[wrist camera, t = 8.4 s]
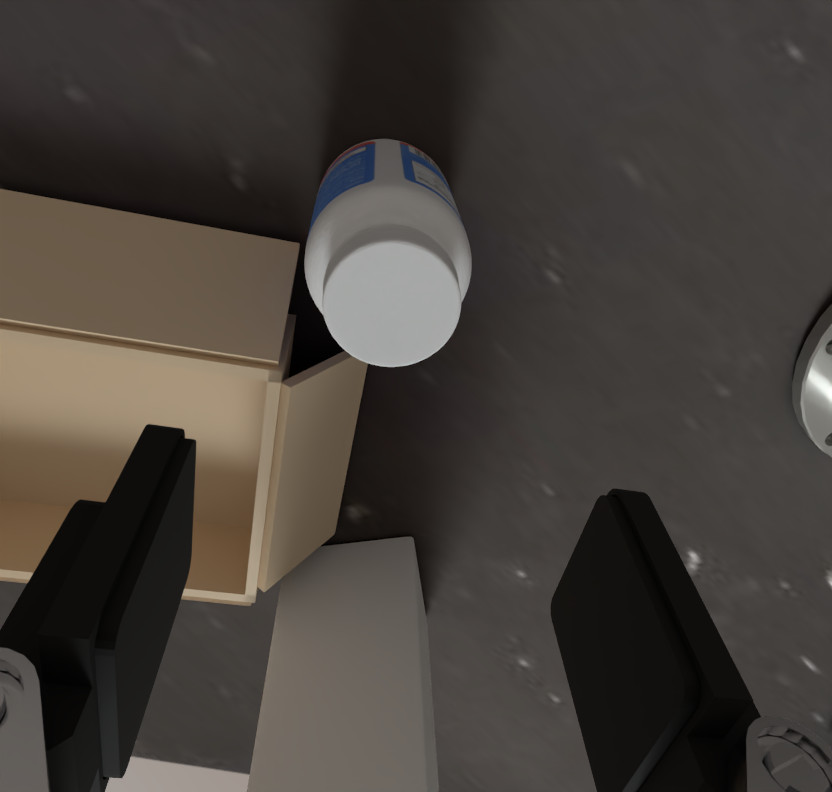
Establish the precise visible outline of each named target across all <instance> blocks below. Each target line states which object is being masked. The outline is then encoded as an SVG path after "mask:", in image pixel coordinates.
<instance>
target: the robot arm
mask: <svg viewBox="0 0 832 792" xmlns="http://www.w3.org/2000/svg"><path fill="white" fill-rule="evenodd" d="M792 399H793V406H794V410H795V413H796V416H797V420H798V422H799V423H800V425H801V426H802V428H803V430H804V431H805V433H806V434H807V436H808V437H809V438H810V439H811V440H812V441H813V442H814V443H815V444H816V445H817V446H818V447H819V448H820V449H821V450H822V451H823V452H825V453H826V454H828V455H829V456H831V457H832V304H831V305H830V306H829V307H828V308H827V310H826V311H825V312H824V313H823V314H822V315H821V317H820V318H819V320H818V321H817V323H816V324H815V326H814V328H813V329H812V331H811V332H810V334H809V336H808V337H807V339H806V341H805V343H804V345H803V348H802V350H801V353H800V355H799V357H798V360H797V362H796V367H795V372H794V377H793V382H792ZM195 466H196V440H195V439H188V438H185V432H184V429H181V428H174V427H166V426H159V425H152V424H148V425H146V426H145V428H144V430H143V431H142V433H141V435H140V437H139V439H138V441H137V443H136V445H135V447H134V449H133V451H132V453H131V455H130V456H129V458H128V460H127V462H126V464H125V466H124V468H123V470H122V472H121V474H120V476H119V478H118V479H117V481H116V483H115V485H114V487H113V489H112V491H111V493H110V495H109V497H108V499H107V501H106V502H98V501H90V500H82V499H80V500H78V501H77V502H76V503H75V504H74V505H73V507H72V508H71V509H70V511H69V513H68V514H67V516H66V518H65V520H64V521H63V523H62V525H61V526H60V528H59V530H58V532H57V533H56V535H55V537H54V538H53V540H52V542H51V544H50V545H49V547H48V549H47V551H46V552H45V554H44V556H43V557H42V559H41V561H40V563H39V564H38V566H37V568H36V570H35V571H34V573H33V575H32V576H31V578H30V580H29V582H28V583H27V585H26V587H25V589H24V590H23V592H22V594H21V595H20V597H19V599H18V601H17V602H16V604H15V606H14V608H13V609H12V611H11V613H10V614H9V616H8V618H7V620H6V621H5V623H4V625H3V626H2V628H1V630H0V792H105V789H106V786H107V783H108V780H109V777H112V778H122V777H123V776H124V774H125V771H126V769H127V766H128V763H129V760H130V757H131V754H132V751H133V747H134V744H135V741H136V738H137V735H138V732H139V729H140V726H141V722H142V719H143V716H144V713H145V710H146V707H147V704H148V701H149V697H150V694H151V691H152V688H153V685H154V682H155V679H156V676H157V672H158V669H159V666H160V663H161V660H162V657H163V654H164V651H165V647H166V644H167V641H168V638H169V635H170V632H171V629H172V626H173V622H174V619H175V616H176V613H177V610H178V607H179V604H180V601H181V597H182V594H183V591H184V588H185V585H186V582H187V578H188V575H189V570H190V565H191V557H192V535H193V512H194V489H195ZM551 618H552V622H553V626H554V630H555V634H556V637H557V641H558V645H559V649H560V652H561V656H562V660H563V664H564V668H565V671H566V675H567V679H568V683H569V687H570V690H571V694H572V698H573V702H574V706H575V709H576V713H577V717H578V721H579V725H580V728H581V732H582V736H583V740H584V744H585V747H586V751H587V755H588V759H589V763H590V766H591V770H592V774H593V778H594V782H595V785H596V789H597V792H832V749H831V748H830V747H829V746H828V745H827V744H826V743H825V742H824V741H823V740H821V739H820V738H819V737H818V736H817V735H815V734H814V733H813V732H812V731H810V730H808V729H807V728H805V727H803V726H802V725H800V724H798V723H796V722H794V721H791V720H788V719H785V718H782V717H778V716H764V717H761V716H760V714H759V712H758V710H757V708H756V707H755V705H754V703H753V699H752V697H751V695H750V693H749V691H748V689H747V687H746V685H745V683H744V681H743V679H742V677H741V675H740V673H739V672H738V670H737V668H736V666H735V664H734V662H733V660H732V658H731V656H730V654H729V652H728V650H727V648H726V646H725V644H724V642H723V640H722V638H721V636H720V634H719V632H718V630H717V628H716V627H715V625H714V623H713V621H712V619H711V617H710V615H709V613H708V611H707V609H706V607H705V605H704V603H703V601H702V599H701V597H700V595H699V593H698V591H697V589H696V587H695V585H694V583H693V582H692V580H691V578H690V576H689V574H688V572H687V570H686V568H685V566H684V564H683V562H682V560H681V558H680V556H679V554H678V552H677V550H676V548H675V546H674V544H673V542H672V540H671V538H670V536H669V535H668V533H667V531H666V529H665V527H664V525H663V523H662V521H661V519H660V517H659V515H658V513H657V511H656V509H655V507H654V505H653V503H652V501H651V499H650V498H649V496H648V495H647V494H645V493H643V492H636V491H629V490H622V489H612V490H611V491H609V493H608V494H607V496H605V495H602V496H600V497H599V498H598V499H597V501H596V503H595V505H594V508H593V510H592V512H591V514H590V516H589V519H588V521H587V523H586V525H585V527H584V530H583V532H582V534H581V536H580V538H579V541H578V543H577V545H576V547H575V549H574V552H573V554H572V556H571V558H570V560H569V562H568V565H567V567H566V569H565V571H564V573H563V576H562V578H561V580H560V582H559V584H558V587H557V589H556V591H555V593H554V595H553V598H552V602H551Z"/></svg>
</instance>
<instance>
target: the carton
mask: <svg viewBox="0 0 832 792" xmlns="http://www.w3.org/2000/svg"><path fill="white" fill-rule="evenodd" d="M299 247H300V243H295V242H290V241H284V240H279V239H273V238H268V237H262V236H257V235H251V234H246V233H240V232H235V231H229V230H224V229H218V228H213V227H207V226H202V225H196V224H191V223H185V222H180V221H174V220H169V219H163V218H158V217H152V216H147V215H141V214H136V213H130V212H125V211H119V210H114V209H108V208H103V207H97V206H92V205H86V204H81V203H75V202H70V201H64V200H59V199H53V198H48V197H43V196H37V195H32V194H26V193H21V192H15V191H10V190H4V189H0V581H10V582H20V583H28V582H29V580H30V578H31V576H32V575H33V573H34V571H35V570H36V568H37V566H38V564H39V563H40V561H41V559H42V557H43V556H44V554H45V552H46V551H47V549H48V547H49V545H50V544H51V542H52V540H53V538H54V537H55V535H56V533H57V532H58V530H59V528H60V526H61V525H62V523H63V521H64V520H65V518H66V516H67V514H68V513H69V511H70V509H71V508H72V507H73V505H74V504H75V503H76V502H77V501H78V500H80V499H82V500H90V501H98V502H106V501H107V499H108V497H109V495H110V493H111V491H112V489H113V487H114V485H115V483H116V481H117V479H118V478H119V476H120V474H121V472H122V470H123V468H124V466H125V464H126V462H127V460H128V458H129V456H130V455H131V453H132V451H133V449H134V447H135V445H136V443H137V441H138V439H139V437H140V435H141V433H142V431H143V430H144V428H145V426H146V425H148V424H152V425H159V426H166V427H174V428H181V429H184V432H185V438H188V439H195V440H196V466H195V489H194V512H193V535H192V557H191V565H190V570H189V575H188V578H187V582H186V585H185V588H184V591H183V594H182V597H181V599H186V600H195V601H205V602H215V603H225V604H234V605H244V606H251V603H255V600H256V595H257V590H258V588H259V589H261V590H262V591H263V592H265V591H267V590H268V589H269V588H270V587H271V586H273V585H274V584H275V583H276V582H277V581H279V580H280V579H281V578H282V577H284V576H285V575H286V574H287V573H288V572H290V571H291V570H292V569H293V568H294V567H296V566H297V565H298V564H299V563H300V562H302V561H303V560H304V559H305V558H307V557H308V556H309V555H310V554H311V553H313V552H314V551H315V550H316V549H317V548H319V547H320V546H321V545H322V544H323V543H325V542H326V541H327V540H328V539H330V538H331V537H332V536H333V535H334V534H335V530H336V525H337V520H338V515H339V510H340V505H341V500H342V494H343V489H344V484H345V479H346V474H347V469H348V464H349V458H350V453H351V448H352V443H353V438H354V433H355V428H356V422H357V417H358V412H359V407H360V402H361V397H362V392H363V386H364V381H365V376H366V371H367V366H368V363H366V362H363V361H361V360H359V359H357V358H355V357H353V356H352V355H350V354H349V353H348V352H346V351H343V352H341V353H339V354H337V355H335V356H333V357H331V358H329V359H327V360H325V361H323V362H321V363H319V364H317V365H315V366H313V367H311V368H309V369H307V370H305V371H303V372H301V373H299V374H297V375H295V376H293V377H291V378H289V371H290V363H291V355H292V346H293V338H294V330H295V322H296V315H292V314H288V310H289V305H290V299H291V294H292V288H293V282H294V277H295V271H296V266H297V260H298V255H299Z"/></svg>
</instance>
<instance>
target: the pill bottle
mask: <svg viewBox="0 0 832 792" xmlns="http://www.w3.org/2000/svg"><path fill="white" fill-rule="evenodd" d="M304 267H305V277H306V282H307V286H308V289H309V292H310V294H311V297H312V299H313V301H314V302H315V304H316V306H317V307H318V309H319V310H320V312H321V313H322V314H323V315H324V319H325V322H326V325H327V327H328V329H329V331H330V333H331V335H332V336H333V338H334V339H335V340H336V342H337V343H338V344H339V345H340V346H341V347H342V348H343V349H344V350H345V351H346V352H348V353H349V354H350V355H352V356H353V357H355V358H357V359H359V360H361V361H363V362H366V363H369V364H372V365H377V366H383V367H398V366H406V365H410V364H414V363H417V362H420V361H422V360H424V359H426V358H428V357H429V356H431V355H432V354H434V353H435V352H436V351H438V350H439V349H440V348H441V347H442V346H443V345H444V344H445V343H446V342H447V341H448V340H449V338H450V337H451V335H452V334H453V332H454V330H455V328H456V325H457V323H458V320H459V316H460V312H461V303H462V301H463V299H464V297H465V294H466V292H467V289H468V286H469V282H470V277H471V269H472V258H471V250H470V245H469V241H468V238H467V235H466V232H465V228H464V226H463V223H462V220H461V218H460V215H459V212H458V210H457V207H456V204H455V202H454V199H453V196H452V194H451V191H450V188H449V185H448V183H447V181H446V179H445V177H444V175H443V174H442V172H441V170H440V169H439V167H438V166H437V165H436V163H435V162H434V161H433V160H432V159H431V158H430V157H429V156H427V155H426V154H425V153H424V152H422V151H421V150H419V149H417V148H416V147H414V146H412V145H410V144H408V143H405V142H401V141H398V140H392V139H375V140H369V141H365V142H362V143H359V144H356V145H355V146H353V147H351V148H349V149H348V150H346V151H345V152H343V153H342V154H341V155H339V156H338V157H337V159H336V160H335V161H334V162H333V163H332V164H331V165H330V167H329V168H328V170H327V172H326V174H325V175H324V177H323V179H322V181H321V184H320V186H319V190H318V194H317V198H316V203H315V207H314V211H313V216H312V220H311V225H310V229H309V234H308V238H307V243H306V249H305V260H304Z"/></svg>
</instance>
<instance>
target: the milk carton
mask: <svg viewBox="0 0 832 792" xmlns="http://www.w3.org/2000/svg"><path fill="white" fill-rule="evenodd" d="M247 792H439V785H438V771H437V757H436V742H435V728H434V714H433V700H432V686H431V671H430V657H429V643H428V629H427V620H426V613H425V607H424V601H423V594H422V588H421V582H420V575H419V569H418V563H417V557H416V550H415V544H414V539H413V537H399V538H390V539H381V540H373V541H364V542H355V543H347V544H338V545H329V546H320V547H319V548H317V549H316V550H315V551H314V552H313V553H311V554H310V555H309V556H308V557H307V558H305V559H304V560H303V561H302V562H300V563H299V564H298V565H297V566H296V567H294V568H293V569H292V570H291V571H290V572H288V573H287V574H286V575H285V576H284V577H282V581H281V587H280V593H279V599H278V606H277V612H276V618H275V624H274V630H273V636H272V642H271V648H270V654H269V661H268V667H267V673H266V679H265V685H264V691H263V697H262V703H261V709H260V715H259V722H258V728H257V734H256V740H255V746H254V752H253V758H252V764H251V770H250V776H249V783H248V789H247Z"/></svg>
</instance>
